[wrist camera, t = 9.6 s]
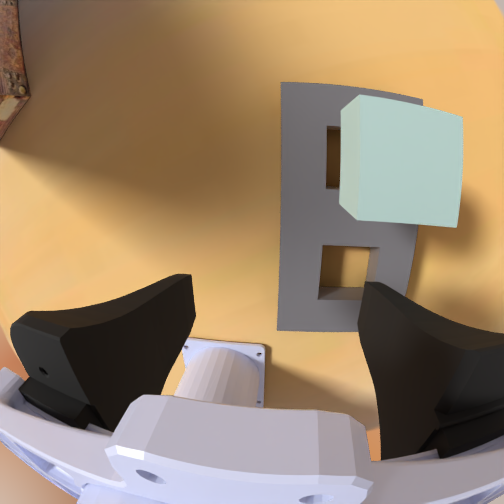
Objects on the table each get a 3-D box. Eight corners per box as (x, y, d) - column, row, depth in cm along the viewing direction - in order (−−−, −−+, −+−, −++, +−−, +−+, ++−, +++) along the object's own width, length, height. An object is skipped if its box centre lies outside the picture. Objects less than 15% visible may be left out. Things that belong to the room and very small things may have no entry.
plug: (402, 201, 14) (456, 227, 9) (330, 196, 15) (356, 220, 9) (405, 127, 13) (462, 116, 7) (332, 117, 13) (359, 94, 8)
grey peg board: (388, 316, 22) (395, 330, 20) (277, 315, 23) (276, 330, 21) (410, 103, 16) (422, 99, 14) (281, 89, 17) (280, 82, 15)
